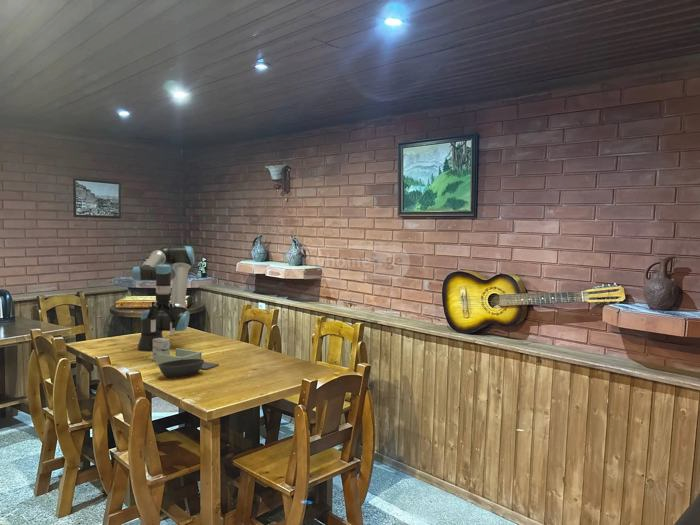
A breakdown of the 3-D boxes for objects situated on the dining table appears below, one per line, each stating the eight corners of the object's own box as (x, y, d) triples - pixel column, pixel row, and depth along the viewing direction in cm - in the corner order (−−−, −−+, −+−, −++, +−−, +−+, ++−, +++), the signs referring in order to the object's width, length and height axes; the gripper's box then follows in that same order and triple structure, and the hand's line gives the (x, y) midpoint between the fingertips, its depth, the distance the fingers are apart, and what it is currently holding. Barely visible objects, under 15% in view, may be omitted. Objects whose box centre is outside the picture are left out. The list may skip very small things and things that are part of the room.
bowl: (154, 375, 241) (154, 363, 241) (199, 369, 254) (199, 357, 254) (162, 382, 231) (162, 368, 231) (208, 375, 245) (208, 362, 244)
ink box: (170, 360, 269) (170, 339, 268) (162, 362, 265) (162, 340, 264) (159, 358, 273) (159, 337, 273) (152, 360, 269) (152, 338, 268)
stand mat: (190, 367, 257) (190, 365, 257) (203, 363, 266) (203, 361, 266) (206, 370, 253) (206, 368, 253) (218, 365, 262) (218, 364, 262)
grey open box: (156, 365, 259) (156, 353, 259) (176, 359, 273) (176, 348, 272) (181, 369, 253) (182, 357, 252) (201, 363, 266) (201, 352, 266)
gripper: (140, 292, 267) (139, 331, 268) (176, 295, 257) (175, 336, 258) (151, 291, 274) (150, 329, 275) (186, 294, 264) (185, 334, 265)
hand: (162, 333), depth 266 cm, fingers open, 13 cm apart
